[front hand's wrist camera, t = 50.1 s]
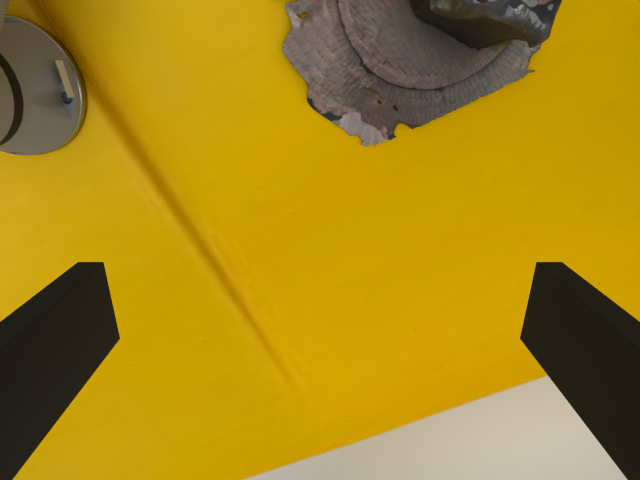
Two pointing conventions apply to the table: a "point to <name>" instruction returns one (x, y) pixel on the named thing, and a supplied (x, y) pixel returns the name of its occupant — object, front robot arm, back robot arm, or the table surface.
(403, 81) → the sculpture
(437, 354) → the table surface
